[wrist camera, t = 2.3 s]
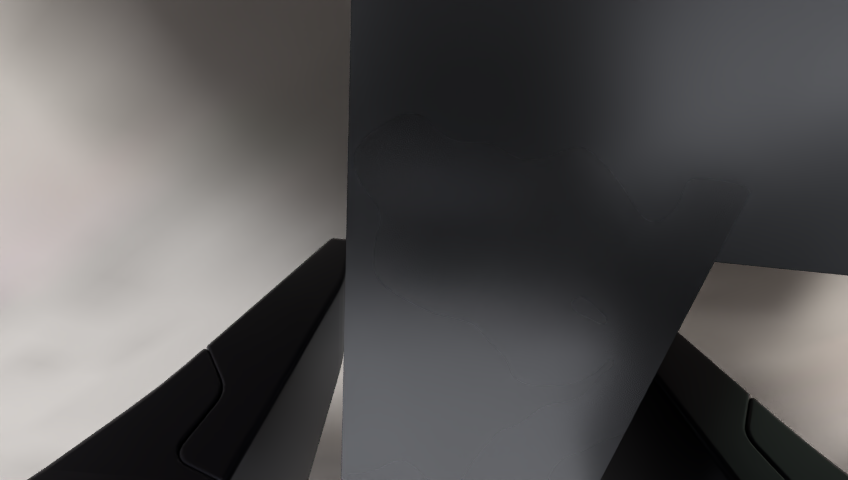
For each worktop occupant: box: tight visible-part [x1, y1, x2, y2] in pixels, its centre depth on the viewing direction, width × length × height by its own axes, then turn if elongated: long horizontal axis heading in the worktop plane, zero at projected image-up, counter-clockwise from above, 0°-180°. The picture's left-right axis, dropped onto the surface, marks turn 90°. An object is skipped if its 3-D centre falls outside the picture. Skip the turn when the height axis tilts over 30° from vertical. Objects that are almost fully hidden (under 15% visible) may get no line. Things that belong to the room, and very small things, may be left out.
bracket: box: [341, 0, 848, 480], centre depth 7 cm, size 9×6×5 cm, turn 174°
